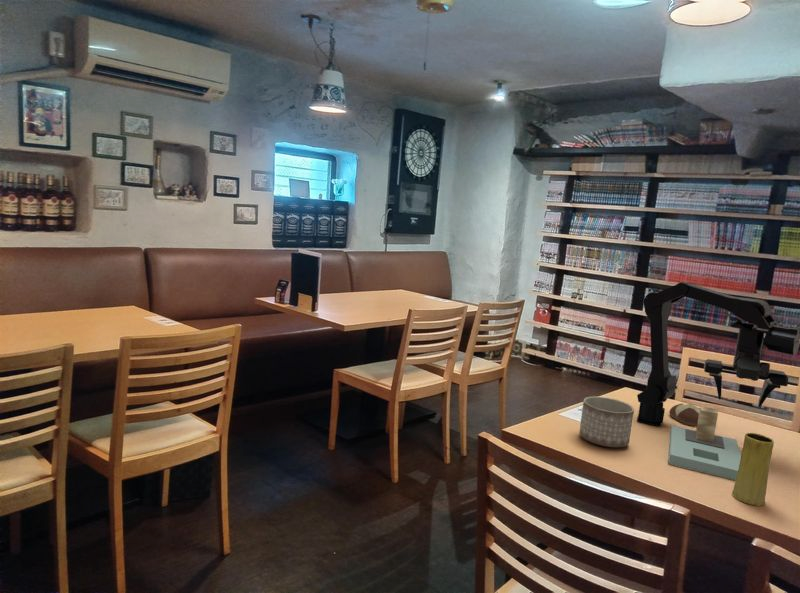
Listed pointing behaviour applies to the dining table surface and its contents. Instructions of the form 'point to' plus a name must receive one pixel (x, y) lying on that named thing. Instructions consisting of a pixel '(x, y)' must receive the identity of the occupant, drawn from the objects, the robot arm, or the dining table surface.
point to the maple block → (706, 424)
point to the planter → (606, 421)
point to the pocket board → (704, 453)
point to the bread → (685, 414)
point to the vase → (753, 469)
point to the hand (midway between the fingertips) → (739, 402)
